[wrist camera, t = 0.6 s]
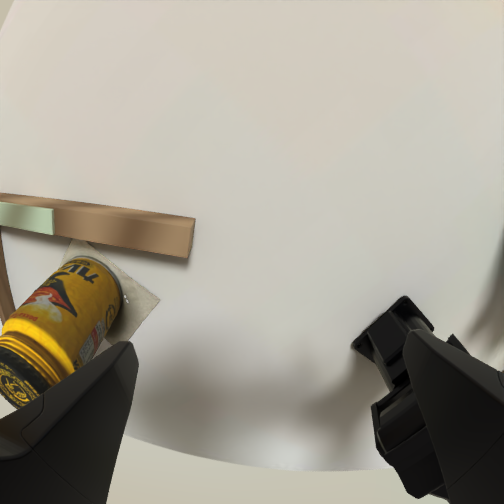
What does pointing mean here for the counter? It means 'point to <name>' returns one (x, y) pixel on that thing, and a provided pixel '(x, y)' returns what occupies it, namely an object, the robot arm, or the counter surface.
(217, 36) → the counter surface
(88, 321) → the condiment
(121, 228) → the rail bay
